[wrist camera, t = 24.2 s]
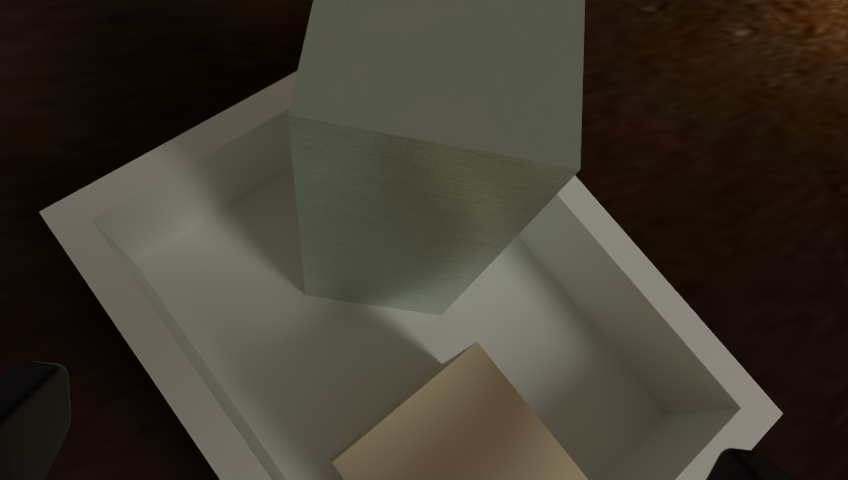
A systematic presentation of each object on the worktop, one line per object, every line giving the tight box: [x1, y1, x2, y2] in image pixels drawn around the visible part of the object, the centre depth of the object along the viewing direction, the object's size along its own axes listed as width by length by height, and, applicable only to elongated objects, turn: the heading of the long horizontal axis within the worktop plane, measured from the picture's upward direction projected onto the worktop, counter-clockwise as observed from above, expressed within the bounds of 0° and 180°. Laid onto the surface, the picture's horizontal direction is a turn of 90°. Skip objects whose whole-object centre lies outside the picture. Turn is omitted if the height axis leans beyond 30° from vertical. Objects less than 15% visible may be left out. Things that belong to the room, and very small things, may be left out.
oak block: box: [329, 342, 588, 480], centre depth 18 cm, size 5×5×5 cm
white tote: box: [39, 71, 783, 480], centre depth 20 cm, size 18×14×5 cm
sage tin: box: [288, 0, 585, 316], centre depth 17 cm, size 5×5×12 cm
